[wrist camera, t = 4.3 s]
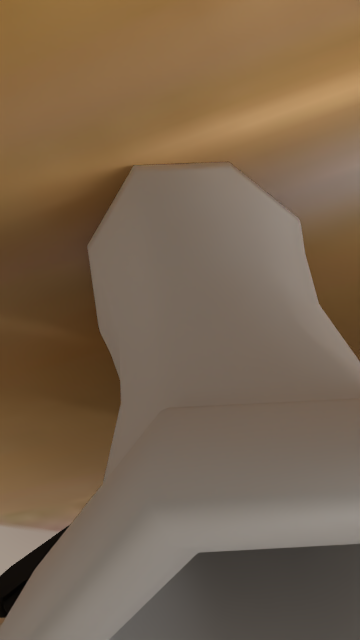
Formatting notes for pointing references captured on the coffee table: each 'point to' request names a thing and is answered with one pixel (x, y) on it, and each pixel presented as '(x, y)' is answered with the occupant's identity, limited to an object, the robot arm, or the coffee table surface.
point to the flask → (211, 431)
